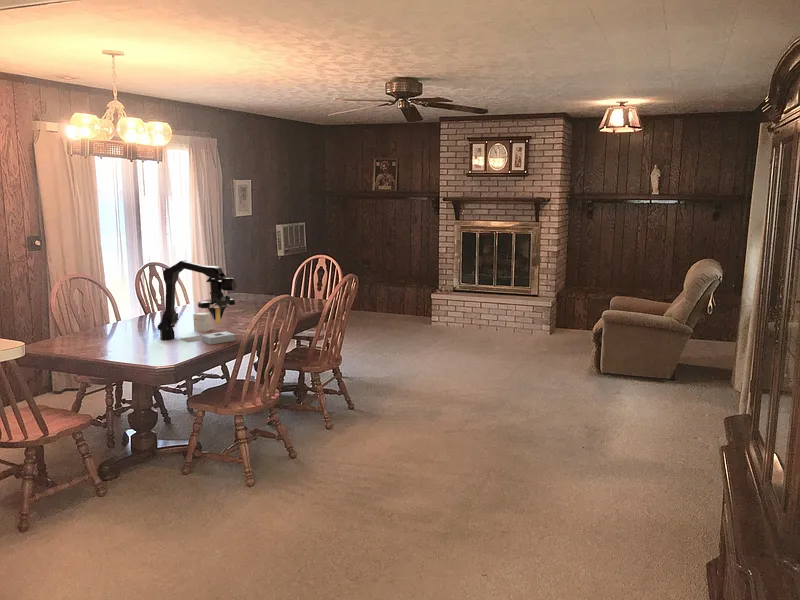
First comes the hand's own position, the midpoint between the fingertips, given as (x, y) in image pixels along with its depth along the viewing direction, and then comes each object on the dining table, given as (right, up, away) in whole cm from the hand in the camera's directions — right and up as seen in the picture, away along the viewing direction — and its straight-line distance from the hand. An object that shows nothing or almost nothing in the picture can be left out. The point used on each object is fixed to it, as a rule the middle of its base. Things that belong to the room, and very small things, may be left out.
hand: (217, 319), depth 353 cm
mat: (-14, -11, +7) cm, 19 cm away
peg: (0, -3, 0) cm, 3 cm away
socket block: (0, -12, +2) cm, 12 cm away
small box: (-16, -8, +28) cm, 34 cm away
